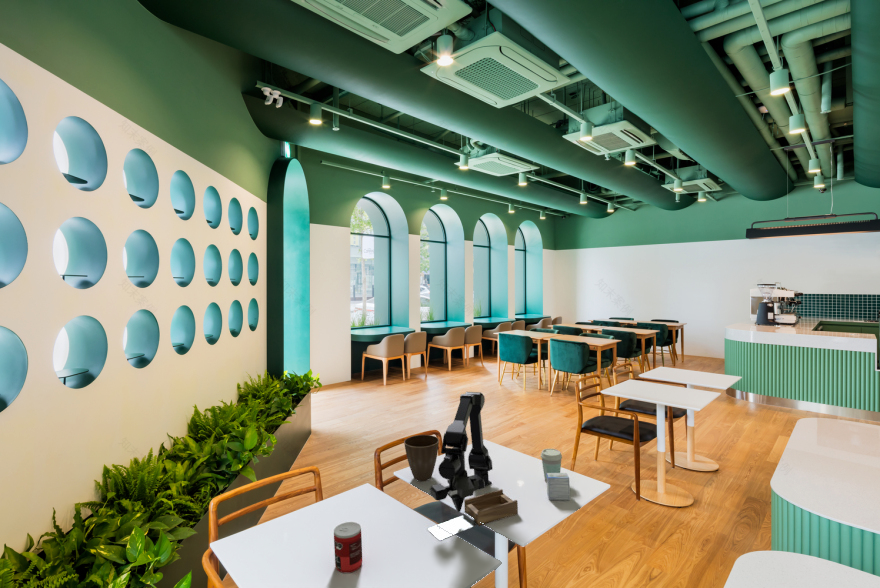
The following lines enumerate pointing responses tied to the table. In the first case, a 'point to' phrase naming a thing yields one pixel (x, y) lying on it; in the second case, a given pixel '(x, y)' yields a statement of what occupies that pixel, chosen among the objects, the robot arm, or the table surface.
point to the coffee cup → (551, 461)
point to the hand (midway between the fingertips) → (458, 511)
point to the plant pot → (422, 455)
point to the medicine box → (558, 486)
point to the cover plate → (453, 527)
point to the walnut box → (490, 507)
